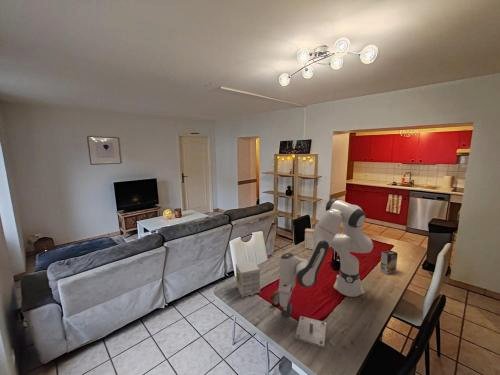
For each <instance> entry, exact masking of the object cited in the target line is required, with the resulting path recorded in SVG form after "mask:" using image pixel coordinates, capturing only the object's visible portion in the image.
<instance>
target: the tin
mask: <svg viewBox="0 0 500 375" xmlns="http://www.w3.org/2000/svg"><path fill="white" fill-rule="evenodd" d="M270 303H272V305H275V306H277V305H279V304H280V299H279V291H278V289H276V290H275V291H273V292H272V293H271V295H270ZM278 303H279V304H278Z"/></svg>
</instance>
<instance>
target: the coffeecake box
mask: <svg viewBox="0 0 500 375" xmlns="http://www.w3.org/2000/svg"><path fill="white" fill-rule="evenodd" d="M313 231H314V228H310V227H309V228H308V227H306V228H305V229H304V249H305V248H310V249H314V242H313Z"/></svg>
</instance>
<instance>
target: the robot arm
mask: <svg viewBox="0 0 500 375" xmlns="http://www.w3.org/2000/svg"><path fill="white" fill-rule="evenodd" d="M366 217H367V216H366V213H365V212H364V211H363V209H362V208H361V207H360V206H359V205H357V204H351V203H348V202H347V201H344V200H341V199H340V198H337V197H332V198H330V199H328V201H327V202H326V204H325V212H324V213H323V215H321V217H320V218H319V220H318V221H317V223H316V225H315V227H314V228H313V229H314V231H313V242H314V250H312V253H311V256H310V257H309V259H307V258H303V257H299V256H296V255H294V253H291V252H287V253H284V254H282V255H281V256H280V259H279V266H278V267H279V276H278V277H279V281H278V289H277V290H278V291H279V299H280V303H279V306H280V308H281V307H283V308H284V310H287V305H288V303H290V300H291V298H292V297H291V296H292V293H293V290H294V288H295V287H296V281H297V284H299V286H300V287H302V288H312V287H314V286H315V284H316V283H317V282H318V281H317V280H318V273H319V271H320V268H321V267H322V265H323V262H324V261H325V259H326V256H327V255H328V251H329V249H330V247H331V248H332V249H333V250H334V251H335V252H336V253H337V254H338V256H339V259H340V260H339V261H340V268H339V271H338V272H339V274H337V275H336V280H335V282H334V285H333V288H334V289H335V290H336V291H338V292H339V293H340V294H341V295H344V296H347V297H350V298H351V297H352V298H353V297H359V296H360V295H364V294H365V291H364V289H363V287H362V280H361V279H360V272H359V269H360V261H359V259H358V258H357V257H356V256H355V255H353V254H351V253H357V254H369V253H371V252H372V251H373V249H374V242H373V240H372V239H371V237H369V236H367V235H366V234H365V233H364V231H363V224H364V223H365V221H366ZM341 225H342V231H343V233H338V231H339V229H340V227H341Z"/></svg>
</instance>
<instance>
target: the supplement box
mask: <svg viewBox="0 0 500 375" xmlns="http://www.w3.org/2000/svg"><path fill="white" fill-rule="evenodd" d="M260 269H261V268H259V266H258V265H257V264H256V262H255V261H254V260H250V261H248V260H247V261H243V262H239V263H235V277H236V278H235V280H236V282H235V283H236V289H237V288H238V289H237V290H238V292H239V294H240V296H241V295H242V296H241V298H244V297H243V296H246V297H248V296H247V295H251V294H255V293H259V292H260V293H261V270H260ZM260 293H259V294H260ZM255 295H256V294H255ZM251 296H252V295H251Z"/></svg>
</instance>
